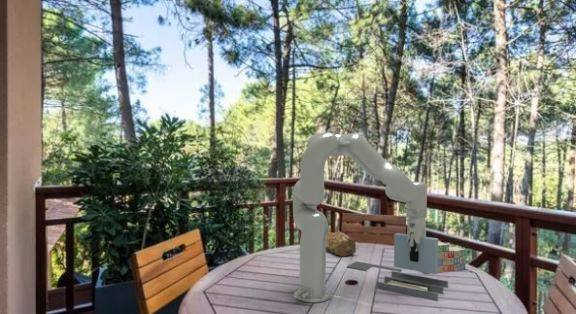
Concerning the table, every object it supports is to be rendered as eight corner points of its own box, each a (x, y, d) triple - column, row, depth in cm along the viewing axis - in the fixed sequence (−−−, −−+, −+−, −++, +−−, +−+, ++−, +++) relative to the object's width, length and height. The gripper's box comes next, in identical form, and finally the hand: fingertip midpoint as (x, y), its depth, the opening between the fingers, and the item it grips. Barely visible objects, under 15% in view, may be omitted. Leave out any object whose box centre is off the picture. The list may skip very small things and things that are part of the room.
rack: (437, 303, 133) (437, 294, 133) (377, 290, 146) (377, 282, 146) (448, 289, 147) (448, 281, 147) (392, 278, 160) (392, 271, 160)
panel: (435, 274, 144) (436, 239, 144) (393, 266, 153) (394, 234, 153) (437, 272, 147) (438, 238, 146) (396, 264, 156) (397, 233, 155)
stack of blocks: (455, 266, 178) (456, 239, 178) (465, 270, 172) (466, 243, 172) (416, 270, 171) (416, 242, 171) (425, 274, 165) (425, 246, 165)
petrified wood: (359, 255, 193) (356, 236, 192) (335, 263, 190) (332, 243, 189) (345, 245, 212) (342, 228, 211) (323, 251, 209) (319, 234, 208)
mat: (394, 276, 162) (394, 275, 162) (346, 267, 174) (346, 266, 174) (401, 270, 170) (401, 269, 170) (355, 262, 183) (355, 261, 183)
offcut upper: (424, 295, 138) (424, 291, 138) (386, 287, 146) (386, 283, 146) (427, 292, 142) (427, 287, 142) (390, 284, 150) (391, 280, 150)
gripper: (420, 217, 141) (419, 267, 141) (431, 211, 154) (430, 257, 154) (400, 215, 145) (399, 263, 145) (412, 210, 158) (411, 254, 159)
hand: (415, 259), depth 150 cm, fingers closed on panel, 3 cm apart
